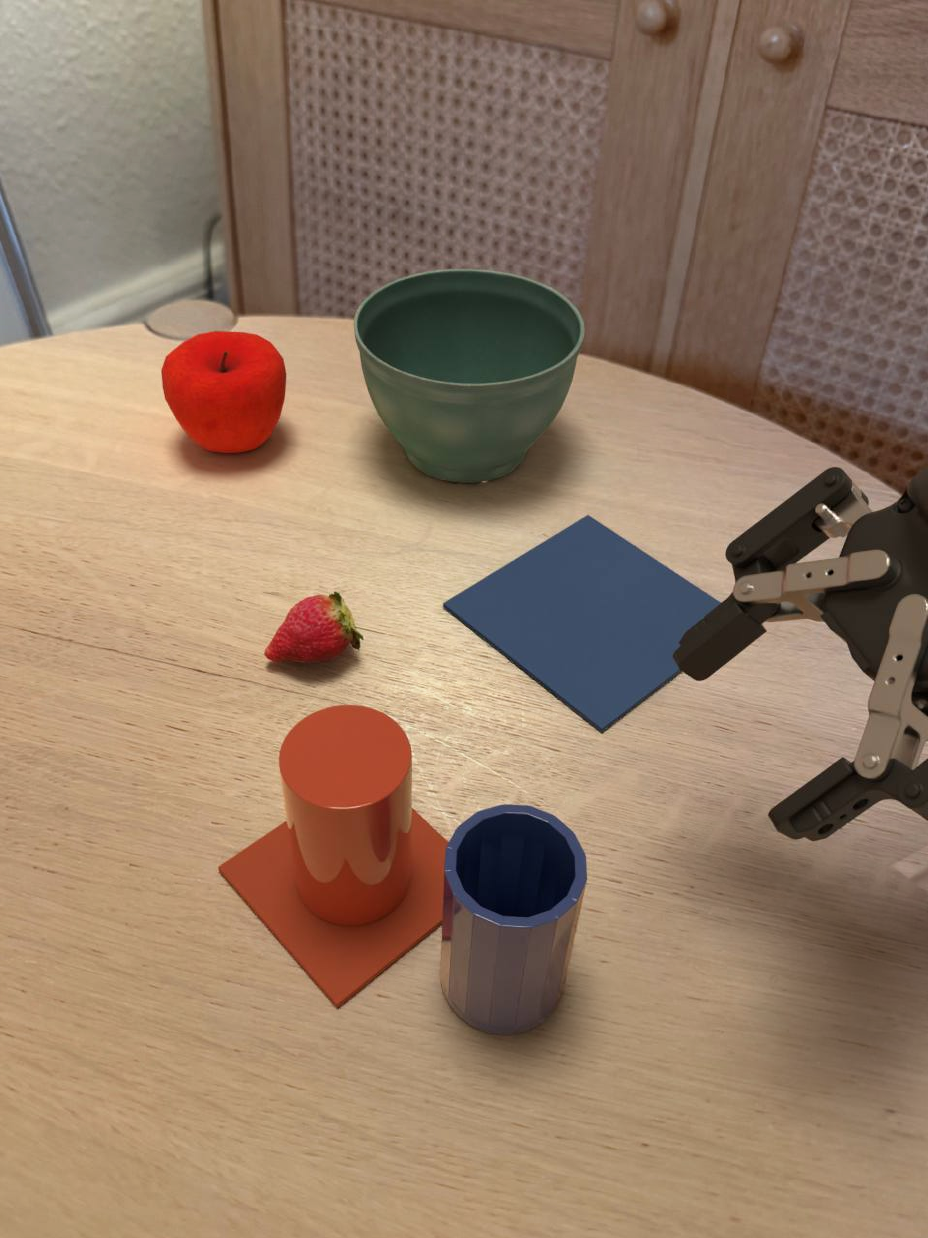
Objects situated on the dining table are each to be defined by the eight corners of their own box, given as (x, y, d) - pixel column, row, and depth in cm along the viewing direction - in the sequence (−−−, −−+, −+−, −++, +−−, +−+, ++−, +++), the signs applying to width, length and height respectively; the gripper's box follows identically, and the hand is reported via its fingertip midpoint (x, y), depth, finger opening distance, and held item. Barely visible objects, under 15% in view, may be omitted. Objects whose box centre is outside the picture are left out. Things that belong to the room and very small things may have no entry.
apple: (196, 489, 79) (180, 397, 73) (158, 426, 84) (140, 336, 78) (310, 456, 82) (303, 366, 76) (266, 398, 87) (256, 309, 82)
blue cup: (588, 980, 53) (616, 868, 46) (500, 1062, 50) (515, 955, 43) (502, 898, 56) (516, 781, 49) (415, 970, 53) (415, 857, 46)
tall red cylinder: (435, 878, 56) (439, 759, 49) (344, 949, 53) (333, 833, 46) (362, 806, 59) (355, 684, 52) (272, 869, 56) (252, 749, 49)
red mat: (489, 885, 56) (490, 881, 56) (337, 1008, 51) (337, 1004, 51) (367, 769, 61) (367, 764, 61) (218, 871, 56) (217, 867, 56)
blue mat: (744, 623, 71) (746, 618, 70) (601, 733, 64) (602, 728, 63) (587, 518, 78) (588, 514, 77) (442, 607, 71) (442, 603, 71)
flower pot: (316, 437, 84) (307, 310, 76) (473, 368, 91) (479, 246, 84) (452, 544, 75) (456, 413, 68) (612, 458, 83) (632, 331, 75)
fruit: (263, 637, 68) (254, 579, 65) (357, 626, 69) (354, 568, 66) (267, 687, 65) (259, 629, 62) (366, 675, 66) (363, 617, 63)
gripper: (926, 322, 41) (611, 594, 47) (1210, 564, 32) (773, 870, 37) (989, 418, 46) (698, 654, 52) (1251, 652, 37) (861, 910, 42)
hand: (730, 744), depth 45 cm, fingers open, 8 cm apart
